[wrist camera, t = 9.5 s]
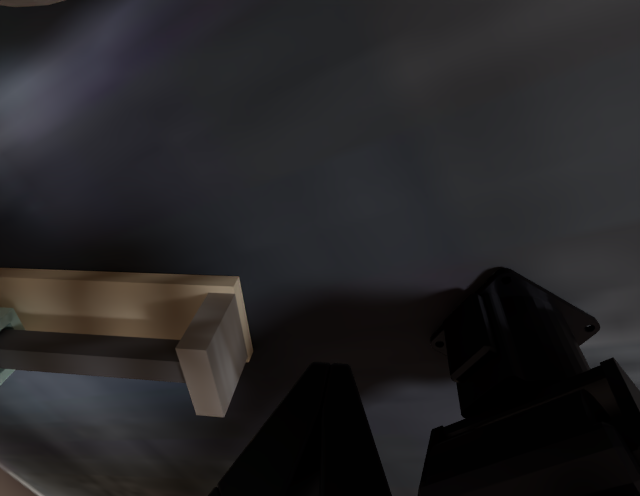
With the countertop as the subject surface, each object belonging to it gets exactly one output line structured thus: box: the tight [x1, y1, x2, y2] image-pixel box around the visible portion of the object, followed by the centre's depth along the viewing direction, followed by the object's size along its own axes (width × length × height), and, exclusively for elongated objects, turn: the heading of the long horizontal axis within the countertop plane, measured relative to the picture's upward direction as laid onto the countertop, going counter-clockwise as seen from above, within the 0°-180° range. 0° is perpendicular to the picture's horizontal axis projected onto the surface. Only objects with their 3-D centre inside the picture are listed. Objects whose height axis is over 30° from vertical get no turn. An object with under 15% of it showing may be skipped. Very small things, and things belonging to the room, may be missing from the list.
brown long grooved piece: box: [0, 268, 253, 417], centre depth 26 cm, size 20×6×6 cm, turn 93°
